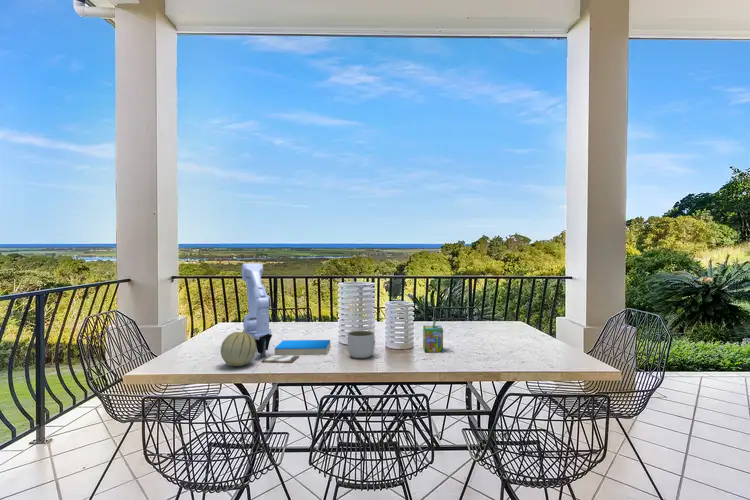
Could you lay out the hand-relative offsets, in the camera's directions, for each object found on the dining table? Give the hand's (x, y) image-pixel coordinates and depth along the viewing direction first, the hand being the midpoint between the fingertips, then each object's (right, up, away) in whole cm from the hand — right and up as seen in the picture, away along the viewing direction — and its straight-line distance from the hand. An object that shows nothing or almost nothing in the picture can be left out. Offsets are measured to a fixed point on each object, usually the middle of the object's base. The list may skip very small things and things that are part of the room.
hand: (262, 351), depth 179 cm
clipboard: (+10, -3, -5) cm, 11 cm away
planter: (+46, -2, 0) cm, 46 cm away
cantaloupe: (-7, -3, -13) cm, 15 cm away
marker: (0, -3, 0) cm, 3 cm away
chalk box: (+82, -2, +10) cm, 82 cm away
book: (+17, -3, +12) cm, 21 cm away
